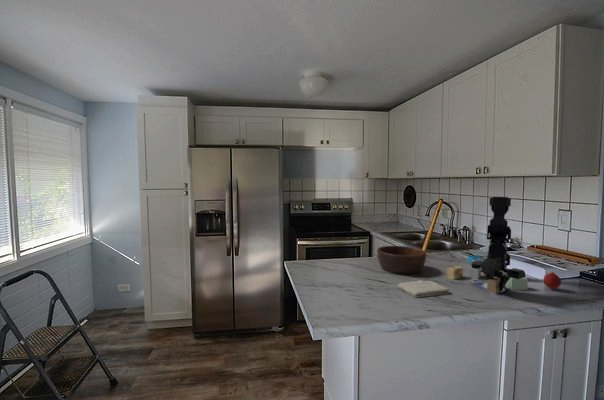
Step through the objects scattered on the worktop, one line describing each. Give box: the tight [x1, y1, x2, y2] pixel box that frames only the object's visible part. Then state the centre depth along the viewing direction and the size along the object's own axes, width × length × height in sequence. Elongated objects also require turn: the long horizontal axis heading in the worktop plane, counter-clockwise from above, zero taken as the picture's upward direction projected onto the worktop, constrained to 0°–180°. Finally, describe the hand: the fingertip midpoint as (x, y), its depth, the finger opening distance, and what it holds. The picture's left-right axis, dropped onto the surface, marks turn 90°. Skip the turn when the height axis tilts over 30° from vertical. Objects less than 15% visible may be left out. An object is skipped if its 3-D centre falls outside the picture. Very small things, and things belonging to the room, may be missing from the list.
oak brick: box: [446, 265, 464, 280], centre depth 141 cm, size 7×4×5 cm, turn 118°
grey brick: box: [469, 266, 482, 280], centre depth 142 cm, size 7×4×5 cm, turn 138°
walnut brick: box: [486, 277, 506, 295], centre depth 123 cm, size 7×4×5 cm, turn 118°
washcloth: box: [397, 279, 450, 298], centre depth 123 cm, size 12×18×3 cm, turn 108°
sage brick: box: [505, 276, 529, 291], centre depth 126 cm, size 7×4×5 cm, turn 93°
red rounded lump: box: [542, 270, 562, 291], centre depth 125 cm, size 6×6×8 cm
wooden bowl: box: [376, 245, 427, 275], centre depth 156 cm, size 25×25×10 cm
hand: (496, 289), depth 123 cm, fingers closed on walnut brick, 3 cm apart
